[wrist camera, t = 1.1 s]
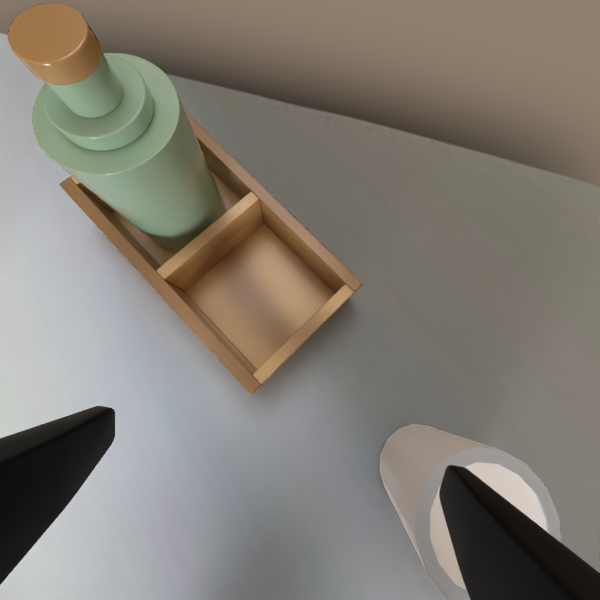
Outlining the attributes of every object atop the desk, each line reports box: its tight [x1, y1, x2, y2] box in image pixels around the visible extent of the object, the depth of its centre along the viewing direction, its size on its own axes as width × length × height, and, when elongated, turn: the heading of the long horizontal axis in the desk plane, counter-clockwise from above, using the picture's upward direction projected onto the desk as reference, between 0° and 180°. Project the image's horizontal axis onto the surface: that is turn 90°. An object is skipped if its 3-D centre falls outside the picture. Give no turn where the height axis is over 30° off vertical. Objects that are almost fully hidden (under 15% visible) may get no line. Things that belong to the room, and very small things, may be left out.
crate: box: [60, 111, 362, 394], centre depth 20 cm, size 10×18×4 cm, turn 44°
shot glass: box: [379, 424, 561, 600], centre depth 16 cm, size 7×7×7 cm
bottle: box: [8, 3, 226, 253], centre depth 15 cm, size 6×6×13 cm
